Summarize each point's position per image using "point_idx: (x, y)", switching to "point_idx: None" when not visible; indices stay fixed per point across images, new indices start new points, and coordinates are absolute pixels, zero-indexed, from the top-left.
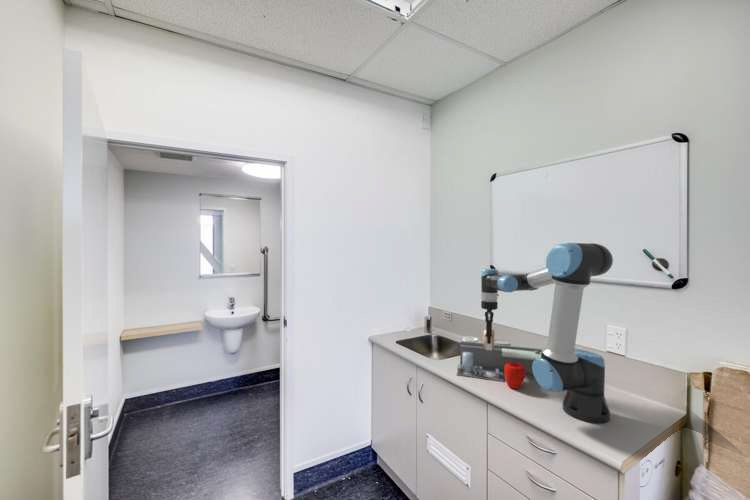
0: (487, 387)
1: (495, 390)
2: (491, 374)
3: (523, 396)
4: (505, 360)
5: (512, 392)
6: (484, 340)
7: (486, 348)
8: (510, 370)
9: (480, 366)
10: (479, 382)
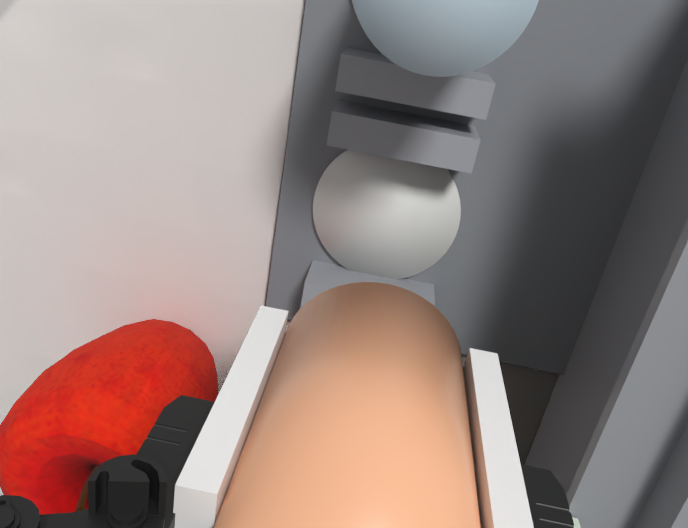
0: (93, 142)
1: (55, 200)
2: (382, 238)
3: (27, 372)
4: (577, 454)
5: (68, 319)
6: (299, 385)
7: (252, 327)
8: (5, 418)
9: (642, 167)
10: (189, 83)
